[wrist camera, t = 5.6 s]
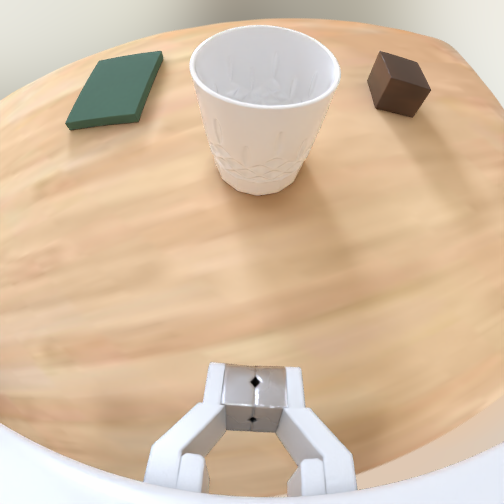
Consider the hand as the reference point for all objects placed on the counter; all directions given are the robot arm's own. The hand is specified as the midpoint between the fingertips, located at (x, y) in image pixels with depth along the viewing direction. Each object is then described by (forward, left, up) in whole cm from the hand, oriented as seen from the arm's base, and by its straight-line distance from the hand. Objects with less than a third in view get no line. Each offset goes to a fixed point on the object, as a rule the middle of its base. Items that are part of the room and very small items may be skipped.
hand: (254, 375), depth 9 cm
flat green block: (-15, +24, -9) cm, 30 cm away
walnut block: (+13, +25, -9) cm, 29 cm away
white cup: (0, +15, -10) cm, 17 cm away
